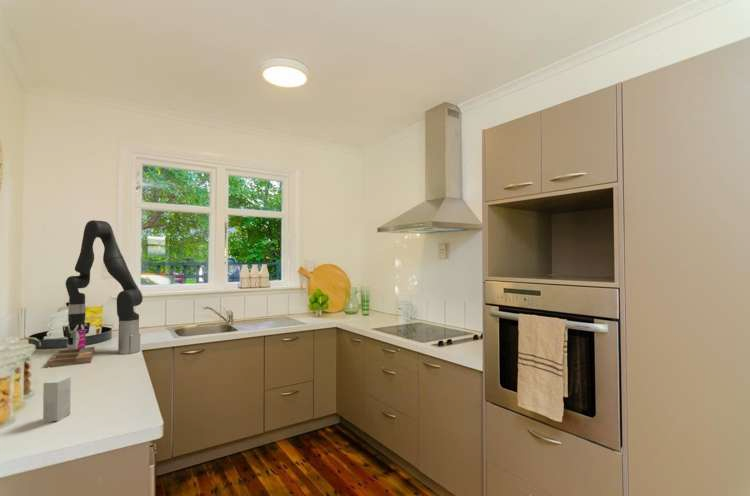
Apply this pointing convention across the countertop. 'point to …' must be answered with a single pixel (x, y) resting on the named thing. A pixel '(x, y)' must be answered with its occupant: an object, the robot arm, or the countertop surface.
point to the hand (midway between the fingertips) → (76, 343)
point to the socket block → (71, 357)
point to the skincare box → (56, 399)
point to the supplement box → (78, 339)
